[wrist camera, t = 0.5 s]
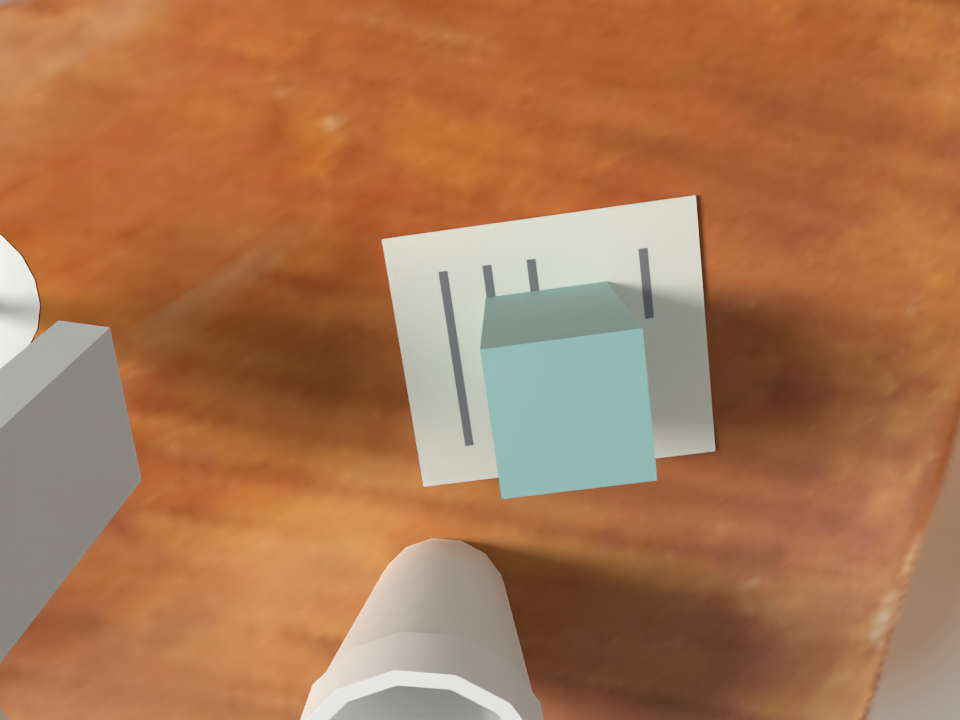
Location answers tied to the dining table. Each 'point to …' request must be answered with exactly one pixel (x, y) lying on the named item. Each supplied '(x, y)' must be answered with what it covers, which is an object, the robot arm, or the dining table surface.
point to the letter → (539, 266)
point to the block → (566, 391)
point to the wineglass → (16, 303)
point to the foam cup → (430, 645)
